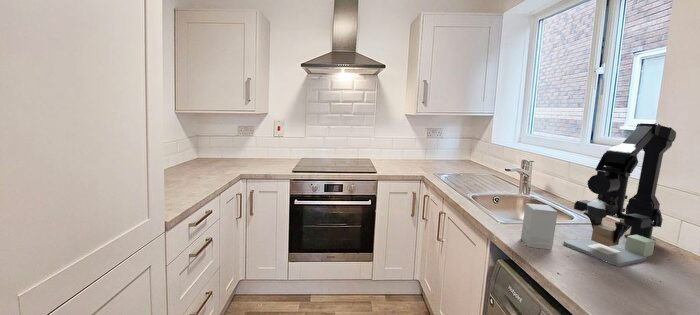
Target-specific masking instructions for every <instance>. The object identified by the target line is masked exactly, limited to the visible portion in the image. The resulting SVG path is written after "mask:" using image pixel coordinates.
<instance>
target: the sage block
mask: <svg viewBox="0 0 700 315" xmlns="http://www.w3.org/2000/svg"><path fill="white" fill-rule="evenodd" d="M652 239H653V238H652ZM652 239H649V238H646V237H643V236H639V235H631V236H627V237H626V241H625V246H624V249H626V250H629V251H631V252H634V253H637V254H640V255H642V256H645V257H647V258H648V257H651V256H653V254H654V248H655V244H656V241H655V240H656V239H655V240H652Z"/></svg>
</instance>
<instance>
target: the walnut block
mask: <svg viewBox="0 0 700 315" xmlns="http://www.w3.org/2000/svg"><path fill="white" fill-rule="evenodd" d="M615 229H616V226H612V225H609V224H606V223H601V224H598V225H594V226H593V228H592V232H591V237H592V238H591V240H592V241H595V242H597V243H600V244H603V245H605V246H608V247H609V246H614V245H615V246H618V245H620V244H619V243H620V239H619V240H618V241H617V243H613V238H614V234H615Z"/></svg>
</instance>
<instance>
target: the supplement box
mask: <svg viewBox="0 0 700 315" xmlns="http://www.w3.org/2000/svg"><path fill="white" fill-rule="evenodd" d="M557 218H558V211H557V210H556V209H554V208H553V207H552V206H550V205H548V204H540V203H539V204H537V203H527V202H526V203H525V206H524V213H523V220H522V227H521V233H520V234H521V235H520V239H521V240H522V242H523V243H524V244H525V245H526V246H527V248H528V247H529V248H535V249H544V250H553V245H554V240H555V239H554V238H555V232H556V225H557Z"/></svg>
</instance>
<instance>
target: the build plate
mask: <svg viewBox="0 0 700 315" xmlns="http://www.w3.org/2000/svg"><path fill="white" fill-rule="evenodd" d="M591 238H592V236H589V237H582V238H576V239H571V240H563V243H562V245H564V246H566V245H567V246H566V247H568V246H569V248H571V249H573V248H574V249H573V250H576V249H577V250H576V251H578V250H579V252H581V253H583V252H584V253H583V254H585V253H587V254H586V255H588V254H589V255H588V256H590V255H592V256H591V257H593V256H594V257H593V258H595V257H597V258H599V259H598V260H600V259H602V260H604V261H603V262H605V261H607V262H609V263H608V264H610V263H611V264H610V265H612V264H613V265H612V266H614V265H616V266H615V267H617V266H618V267H617V268H619V266H620V267H624V266H627V265H632V264H636V263H640V262H644V261H647V258H648V257H645V256H642V255H640V254H637V253H634V252H631V251H629V250H626V249H625V248H622V247H620V246H618V245H614V246H609V247H608V246H605V245H603V244H600V243H597V242H595V241H592V240H591ZM597 258H596V259H597ZM602 260H601V261H602ZM607 262H606V263H607ZM623 265H624V266H623Z"/></svg>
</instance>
